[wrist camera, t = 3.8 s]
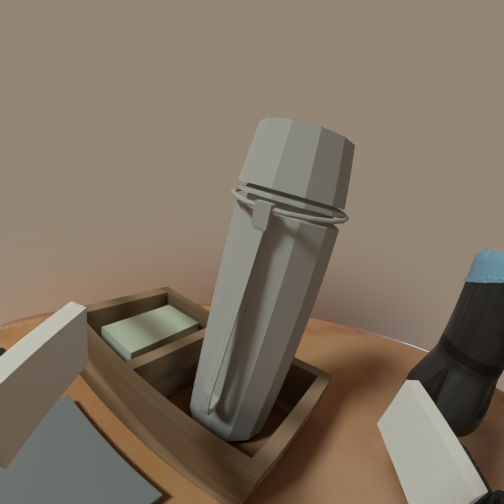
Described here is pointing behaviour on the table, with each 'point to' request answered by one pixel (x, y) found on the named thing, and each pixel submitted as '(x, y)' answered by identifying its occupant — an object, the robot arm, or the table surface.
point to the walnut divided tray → (175, 379)
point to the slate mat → (71, 466)
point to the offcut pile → (147, 332)
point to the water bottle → (270, 272)
